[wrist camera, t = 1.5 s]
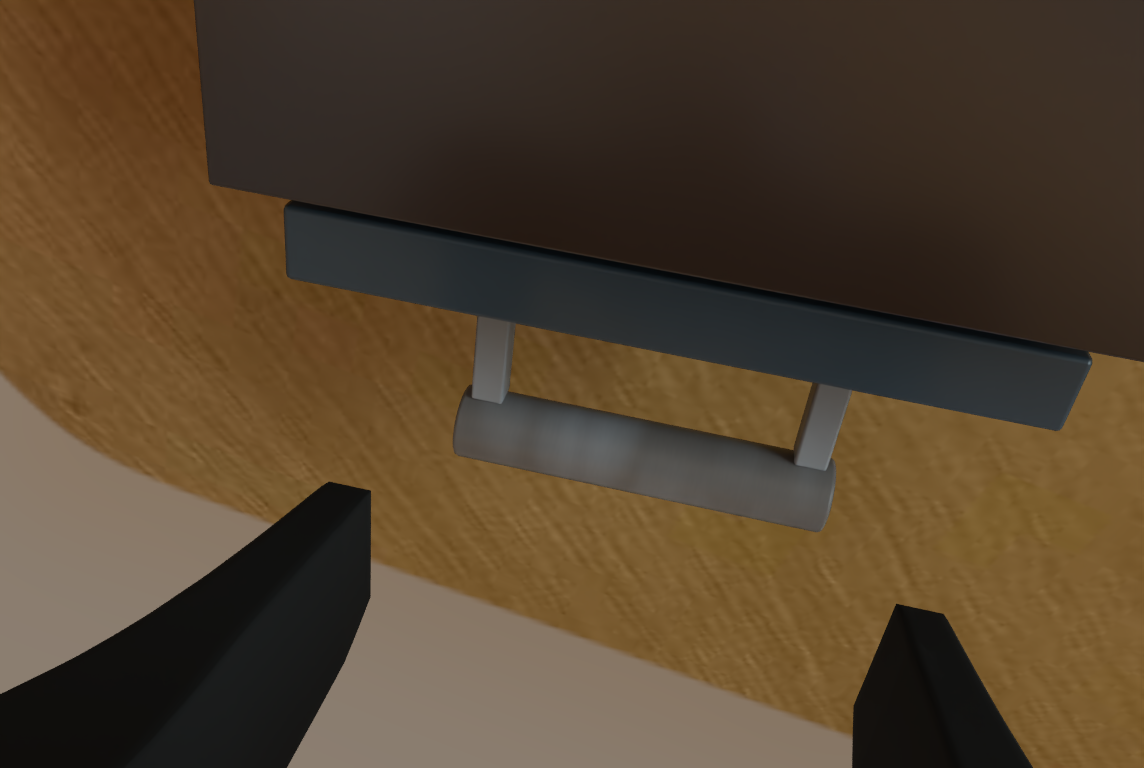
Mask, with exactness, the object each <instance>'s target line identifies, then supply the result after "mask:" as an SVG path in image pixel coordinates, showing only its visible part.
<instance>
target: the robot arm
mask: <svg viewBox="0 0 1144 768" xmlns="http://www.w3.org/2000/svg"><path fill="white" fill-rule="evenodd" d="M370 572H371V491H370V490H365V489H361V488H356V487H351V486H347V485H342V484H338V483H333V482H328V483H326V484H324V485H323V486H321V487H320V488H319V489H317V490H316V491H315V492H314V493H312V494H311V495H310V496H309V497H307V498H306V499H305V500H304V501H302V502H301V503H300V504H299V505H297V506H296V507H295V508H294V509H292V510H291V511H290V512H289V513H287V514H286V515H285V516H284V517H282V518H281V519H280V520H279V521H277V522H276V523H275V524H274V525H272V526H271V527H270V528H268V529H267V530H266V531H265V532H263V533H262V534H261V535H260V536H258V537H257V538H256V539H254V540H253V541H252V542H250V543H249V544H248V545H246V546H245V547H244V548H242V549H241V550H240V551H238V552H237V553H236V554H234V555H233V556H232V557H230V558H229V559H228V560H226V561H225V562H224V563H222V564H221V565H220V566H218V567H217V568H216V569H214V570H213V571H211V572H210V573H209V574H207V575H206V576H204V577H203V578H202V579H200V580H199V581H197V582H196V583H194V584H193V585H191V586H190V587H188V588H187V589H185V590H184V591H182V592H181V593H179V594H178V595H176V596H175V597H174V598H172V599H171V600H169V601H168V602H166V603H165V604H163V605H162V606H160V607H159V608H157V609H156V610H154V611H153V612H151V613H150V614H148V615H146V616H145V617H143V618H142V619H140V620H138V621H137V622H135V623H134V624H132V625H130V626H129V627H127V628H125V629H124V630H122V631H120V632H119V633H117V634H115V635H114V636H112V637H110V638H108V639H107V640H105V641H103V642H101V643H100V644H98V645H96V646H95V647H92V648H91V649H89V650H88V651H86V652H84V653H82V654H80V655H79V656H76V657H75V658H73V659H71V660H69V661H67V662H65V663H63V664H61V665H59V666H57V667H55V668H53V669H51V670H49V671H47V672H45V673H43V674H41V675H39V676H37V677H35V678H33V679H31V680H29V681H27V682H24V683H22V684H20V685H18V686H16V687H14V688H12V689H10V690H8V691H6V692H4V693H2V694H0V768H287V766H288V764H289V763H290V761H291V759H292V757H293V755H294V754H295V752H296V750H297V748H298V746H299V745H300V743H301V741H302V739H303V737H304V736H305V733H306V732H307V730H308V728H309V726H310V725H311V723H312V721H313V719H314V717H315V716H316V714H317V712H318V710H319V708H320V706H321V704H322V703H323V701H324V699H325V697H326V695H327V694H328V692H329V690H330V688H331V686H332V684H333V683H334V681H335V679H336V677H337V675H338V673H339V671H340V669H341V667H342V666H343V664H344V662H345V660H346V657H347V655H348V652H349V650H350V647H351V645H352V643H353V640H354V638H355V635H356V632H357V630H358V628H359V625H360V622H361V620H362V617H363V615H364V612H365V610H366V607H367V604H368V602H369V599H370V578H371V575H370ZM852 756H853V757H852V760H853V761H852V768H1033V767H1032V765H1031V764H1030V762H1029V760H1028V759H1027V757H1026V756H1025V754H1024V752H1023V751H1022V749H1021V747H1020V746H1019V744H1018V743H1017V741H1016V739H1015V738H1014V736H1013V734H1012V733H1011V731H1010V730H1009V728H1008V726H1007V725H1006V723H1005V721H1004V720H1003V718H1002V716H1001V714H1000V713H999V711H998V709H997V708H996V706H995V704H994V702H993V701H992V699H991V697H990V695H989V694H988V692H987V690H986V688H985V687H984V685H983V683H982V681H981V680H980V678H979V676H978V674H977V672H976V671H975V669H974V667H973V665H972V663H971V662H970V660H969V658H968V656H967V654H966V653H965V651H964V649H963V647H962V645H961V643H960V642H959V640H958V638H957V636H956V634H955V633H954V631H953V629H952V627H951V625H950V624H949V622H948V620H947V619H946V617H945V616H944V614H941V613H936V612H932V611H927V610H922V609H918V608H913V607H909V606H904V605H899V604H896V606H895V608H894V611H893V613H892V615H891V618H890V620H889V623H888V625H887V627H886V630H885V632H884V635H883V637H882V639H881V642H880V644H879V647H878V649H877V651H876V654H875V656H874V658H873V661H872V663H871V666H870V668H869V670H868V673H867V675H866V678H865V680H864V682H863V685H862V687H861V690H860V692H859V694H858V697H857V699H856V702H855V704H854V712H853V754H852Z"/></svg>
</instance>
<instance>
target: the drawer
mask: <svg viewBox="0 0 1144 768" xmlns="http://www.w3.org/2000/svg"><path fill="white" fill-rule="evenodd" d="M284 227H285V251H286V274H287V277H289V278H290V279H295V280H300V281H305V282H310V283H315V284H320V285H325V286H330V287H335V288H340V289H345V290H350V291H355V292H360V293H365V294H370V295H375V296H380V297H385V298H390V299H395V300H400V301H405V302H410V303H415V304H420V305H425V306H431V307H436V308H441V309H446V310H451V311H456V312H461V313H466V314H471V315H476V316H477V328H476V342H475V355H474V368H473V382H472V385H469V386H468V387H467V389H466V390H465V392H464V394H463V396H462V399H461V401H460V404H459V408H458V411H457V415H456V420H455V425H454V433H453V448H454V452H455V454H457V455H458V456H462V457H467V458H472V459H476V460H481V461H486V462H490V463H495V464H500V465H504V466H509V467H514V468H518V469H523V470H528V471H532V472H537V473H542V474H546V475H551V476H556V477H560V478H565V479H570V480H574V481H579V482H584V483H589V484H593V485H598V486H603V487H607V488H612V489H617V490H621V491H626V492H631V493H635V494H640V495H645V496H649V497H654V498H659V499H663V500H668V501H673V502H677V503H682V504H687V505H691V506H696V507H701V508H705V509H710V510H715V511H719V512H724V513H729V514H733V515H738V516H743V517H747V518H752V519H757V520H761V521H766V522H771V523H776V524H780V525H785V526H790V527H794V528H799V529H804V530H808V531H813V532H820V531H821V530H822V529H823V527H824V526H825V524H826V521H827V519H828V516H829V512H830V509H831V505H832V501H833V495H834V489H835V482H836V466H835V461H834V460H833V459H832V458H831V455H832V452H833V449H834V446H835V443H836V439H837V436H838V433H839V430H840V427H841V424H842V421H843V418H844V415H845V411H846V408H847V405H848V402H849V399H850V396H851V393H852V390H853V391H858V392H863V393H868V394H873V395H878V396H883V397H888V398H893V399H898V400H903V401H909V402H914V403H919V404H924V405H929V406H934V407H939V408H944V409H949V410H954V411H959V412H964V413H969V414H974V415H979V416H984V417H989V418H994V419H999V420H1004V421H1009V422H1014V423H1019V424H1024V425H1029V426H1034V427H1039V428H1044V429H1049V430H1054V431H1058V430H1060V429H1061V428H1062V427H1063V425H1064V423H1065V421H1066V419H1067V416H1068V414H1069V412H1070V410H1071V408H1072V406H1073V404H1074V402H1075V399H1076V397H1077V395H1078V393H1079V391H1080V389H1081V387H1082V384H1083V382H1084V380H1085V378H1086V376H1087V374H1088V372H1089V370H1090V367H1091V365H1092V358H1091V356H1090V354H1089V352H1088V351H1083V350H1078V349H1072V348H1067V347H1062V346H1057V345H1051V344H1046V343H1041V342H1036V341H1030V340H1025V339H1020V338H1015V337H1009V336H1004V335H999V334H994V333H988V332H983V331H978V330H973V329H967V328H962V327H957V326H952V325H946V324H941V323H936V322H930V321H925V320H920V319H915V318H909V317H904V316H899V315H894V314H888V313H883V312H878V311H873V310H867V309H862V308H857V307H852V306H846V305H841V304H836V303H831V302H825V301H820V300H815V299H810V298H804V297H799V296H794V295H789V294H783V293H778V292H773V291H768V290H762V289H757V288H752V287H747V286H741V285H736V284H731V283H726V282H720V281H715V280H710V279H704V278H699V277H694V276H689V275H683V274H678V273H673V272H668V271H662V270H657V269H652V268H647V267H641V266H636V265H631V264H626V263H620V262H615V261H610V260H605V259H599V258H594V257H589V256H584V255H578V254H573V253H568V252H563V251H557V250H552V249H547V248H542V247H536V246H531V245H526V244H521V243H515V242H510V241H505V240H500V239H494V238H489V237H484V236H478V235H473V234H468V233H463V232H457V231H452V230H447V229H442V228H436V227H431V226H426V225H421V224H415V223H410V222H405V221H400V220H394V219H389V218H384V217H379V216H373V215H368V214H363V213H358V212H352V211H347V210H342V209H337V208H331V207H326V206H321V205H316V204H310V203H305V202H300V201H295V200H291V201H290V202H289V203H287V204H286V205H285V208H284ZM516 324H521V325H526V326H531V327H536V328H541V329H546V330H551V331H556V332H561V333H566V334H571V335H576V336H581V337H586V338H592V339H597V340H602V341H607V342H612V343H617V344H622V345H627V346H632V347H637V348H642V349H647V350H652V351H657V352H662V353H667V354H672V355H677V356H682V357H687V358H692V359H697V360H702V361H707V362H712V363H717V364H722V365H727V366H732V367H737V368H742V369H747V370H753V371H758V372H763V373H768V374H773V375H778V376H783V377H788V378H793V379H798V380H803V381H808V382H813V383H812V386H811V390H810V393H809V397H808V400H807V403H806V407H805V410H804V414H803V417H802V420H801V424H800V427H799V431H798V434H797V437H796V441H795V444H794V450H790V449H785V448H780V447H776V446H771V445H766V444H761V443H756V442H751V441H747V440H742V439H737V438H732V437H727V436H722V435H717V434H713V433H708V432H703V431H698V430H693V429H688V428H683V427H679V426H674V425H669V424H664V423H659V422H654V421H649V420H645V419H640V418H635V417H630V416H625V415H620V414H615V413H611V412H606V411H601V410H596V409H591V408H586V407H581V406H577V405H572V404H567V403H562V402H557V401H552V400H548V399H543V398H538V397H533V396H528V395H523V394H518V393H514V392H509V391H508V390H509V386H510V376H511V366H512V356H513V345H514V335H515V325H516Z"/></svg>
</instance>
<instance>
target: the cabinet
mask: <svg viewBox="0 0 1144 768" xmlns="http://www.w3.org/2000/svg"><path fill="white" fill-rule="evenodd" d="M194 8H195V20H196V32H197V44H198V56H199V68H200V80H201V91H202V103H203V115H204V127H205V139H206V151H207V163H208V175H209V182H210V184H212V185H216V186H221V187H226V188H231V189H237V190H242V191H247V192H252V193H258V194H263V195H268V196H274V197H279V198H284V199H289V200H295V201H300V202H305V203H310V204H316V205H321V206H326V207H331V208H337V209H342V210H347V211H352V212H358V213H363V214H368V215H373V216H379V217H384V218H389V219H394V220H400V221H405V222H410V223H415V224H421V225H426V226H431V227H436V228H442V229H447V230H452V231H457V232H463V233H468V234H473V235H478V236H484V237H489V238H494V239H500V240H505V241H510V242H515V243H521V244H526V245H531V246H536V247H542V248H547V249H552V250H557V251H563V252H568V253H573V254H578V255H584V256H589V257H594V258H599V259H605V260H610V261H615V262H620V263H626V264H631V265H636V266H641V267H647V268H652V269H657V270H662V271H668V272H673V273H678V274H683V275H689V276H694V277H699V278H704V279H710V280H715V281H720V282H726V283H731V284H736V285H741V286H747V287H752V288H757V289H762V290H768V291H773V292H778V293H783V294H789V295H794V296H799V297H804V298H810V299H815V300H820V301H825V302H831V303H836V304H841V305H846V306H852V307H857V308H862V309H867V310H873V311H878V312H883V313H888V314H894V315H899V316H904V317H909V318H915V319H920V320H925V321H930V322H936V323H941V324H946V325H952V326H957V327H962V328H967V329H973V330H978V331H983V332H988V333H994V334H999V335H1004V336H1009V337H1015V338H1020V339H1025V340H1030V341H1036V342H1041V343H1046V344H1051V345H1057V346H1062V347H1067V348H1072V349H1078V350H1083V351H1088V352H1093V353H1099V354H1104V355H1109V356H1114V357H1120V358H1125V359H1130V360H1135V361H1141V362H1144V0H194Z"/></svg>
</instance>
